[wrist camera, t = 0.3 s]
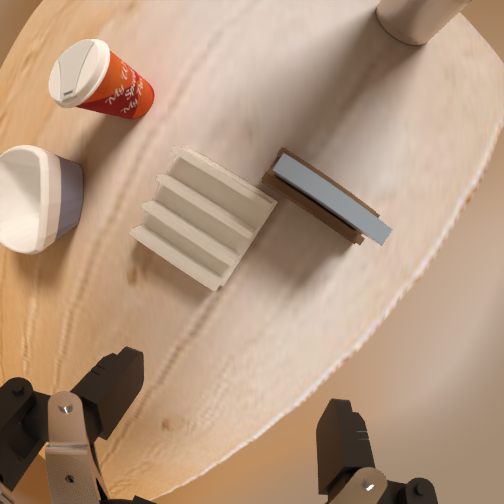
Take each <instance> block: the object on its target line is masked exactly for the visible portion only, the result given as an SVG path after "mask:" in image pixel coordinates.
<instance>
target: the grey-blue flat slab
mask: <svg viewBox="0 0 504 504" xmlns="http://www.w3.org/2000/svg"><path fill="white" fill-rule="evenodd" d="M273 172H274V173H275V175H276V176H278V177H279V178H281V179H282V180H284V181H286V182H287V183H289V184H290V185H292V186H293V187H295V188H296V189H298V190H299V191H301V192H303V193H304V194H306V195H307V196H309V197H310V198H311V199H313V200H314V201H316V202H317V203H319V204H320V205H322V206H323V207H325V208H326V209H328V210H329V211H330V212H332V213H333V214H335V215H336V216H338V217H339V218H340V219H342V220H343V221H345V222H346V223H347V224H349V225H350V226H352V227H353V228H354V229H356V230H357V231H359V232H361V233H362V234H364V235H366V236H367V237H369V238H370V239H372V240H374V241H375V242H377V243H378V244H380V245H381V246H382V245H383V243H384V242H385V240H386V239H387V237H388V235H389V234H390V232H391V231H392V229H391V228H390V227H388V226H387V225H386V224H385V223H383V222H382V221H381V220H379V219H378V218H377V217H376V216H374V215H373V214H372V213H370V212H369V211H368V210H366V209H365V208H364V207H362V206H361V205H360V204H358V203H357V202H356V201H354V200H353V199H352V198H350V197H349V196H348V195H346V194H345V193H343V192H342V191H341V190H339V189H338V188H336V187H335V186H333V185H332V184H331V183H329V182H328V181H326V180H325V179H323V178H322V177H320V176H319V175H317V174H316V173H314V172H313V171H311V170H310V169H308V168H307V167H305V166H304V165H302V164H301V163H299V162H298V161H296V160H294V159H293V158H291V157H290V156H288V155H286V154H285V153H283V155H282V156H281V158H280V159H279V161H278V162H277V164H276V165H275V167H274V168H273Z"/></svg>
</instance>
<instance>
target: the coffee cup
mask: <svg viewBox="0 0 504 504" xmlns="http://www.w3.org/2000/svg"><path fill="white" fill-rule="evenodd" d="M48 87H49V93H50V95H51V97H52V98H53V99H54V100H55V101H56V103H57V104H58V105H59V106H61V107H63V108H72V107H78V108H83V109H87V110H92V111H96V112H100V113H104V114H110V115H114V116H118V117H123V118H128V119H136V118H139V117H141V116H143V115H144V114H145V113H146V112H147V111H148V110H149V109H150V108H151V106H152V104H153V101H154V90H153V88H152V86H151V85H150V84H149V83H148V82H147V81H146V80H145V79H143V78H142V77H141V76H140V75H139V74H138V73H137V72H135V71H134V70H133V69H132V68H131V67H129V66H128V65H127V64H126V63H125V62H123V61H122V60H121V59H120V58H119V57H117V56H116V55H115V54H114V53H112V52H111V51H110V50H109V47H108V46H107V44H106V43H105V42H103V41H101V40H98V39H84V40H81V41H79V42H77V43H75V44H73V45H72V46H70V47H69V48H68V49H66V50H65V51H64V53H63V54H62V55H61V56H60V57H59V58H58V60H57V61H56V63H55V65H54V66H53V69H52V71H51V74H50V78H49V84H48Z"/></svg>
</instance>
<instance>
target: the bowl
mask: <svg viewBox="0 0 504 504" xmlns="http://www.w3.org/2000/svg"><path fill="white" fill-rule="evenodd" d="M82 203H83V171H82V168H81V166H80V165H78V164H76V163H74V162H72V161H69V160H67V159H64V158H62V157H60V156H57V155H55V154H53V153H51V152H48V151H46V150H43V149H41V148H38V147H35V146H31V145H20V146H16V147H13V148H11V149H9V150H7V151H5V152H4V153H3V154H2V155H1V156H0V243H2V244H3V245H4V246H6V247H7V248H9V249H11V250H13V251H15V252H18V253H22V254H32V255H34V254H37V253H39V252H41V251H43V250H44V249H45V248H47V247H48V246H49V245H51V244H52V243H53V242H54V241H56V240H57V239H58V238H60V237H61V236H63V235H64V234H65V233H67V232H68V231H70V230H71V229H73V228H74V227H76V226H77V225H78V222H79V219H80V214H81V209H82Z"/></svg>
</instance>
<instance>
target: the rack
mask: <svg viewBox="0 0 504 504" xmlns="http://www.w3.org/2000/svg"><path fill="white" fill-rule="evenodd" d="M171 152H172V153H174V154H176V155H177V156H176V158H175V160H174V161H173V163H172V165H171V167H170V169H169V170H168V172H167V174H166V175H164V174H158V176H157V178H156V179H155V180H156V181H158V182H159V183H161V185H160V187H159V189H158V191H157V193H156V195H155V197H154V199H153V201H148V202H144V203H143V205H142V207H141V208H142V209H144V210H145V211H147V213H146V215H145V217H144V219H143V221H142V223H141V225H140V226H138V227H135V228H132V229H131V231H130V233H129V235H131V236H132V237H134V238H135V239H136V240H138V241H139V242H141V243H142V244H143V245H145V246H146V247H148V248H149V249H151V250H152V251H154V252H155V253H156V254H158V255H159V256H161V257H162V258H164V259H165V260H167V261H168V262H170V263H171V264H173V265H174V266H176V267H177V268H179V269H180V270H182V271H183V272H185V273H186V274H188V275H189V276H191V277H192V278H194V279H195V280H197V281H198V282H200V283H201V284H203V285H204V286H206V287H207V288H209V289H211V290H212V291H214V292H216V290H217V289H218V287H219V286H220V285H221V286H222V287H223V286H224V285H225V283H226V282H227V280H228V279H229V277H230V276H231V274H232V272H233V271H234V269H235V268H236V266H237V265H238V263H239V261H240V260H241V258H242V257H243V255H244V254H245V252H246V251H247V249H248V247H249V246H250V244H251V243H252V241H253V240H254V238H255V237H256V235H257V234H258V232H259V230H260V229H261V227H262V226H263V224H264V223H265V221H266V220H267V218H268V216H269V215H270V213H271V212H272V210H273V209H274V207H275V206H276V204H277V203H278V201H277V200H275V199H273V198H272V197H270V196H269V195H267V194H266V193H264V192H262V191H261V190H259V189H258V188H256V187H254V186H253V185H251V184H250V183H248V182H246V181H245V180H243V179H241V178H240V177H238V176H237V175H235V174H233V173H232V172H230V171H228V170H227V169H225V168H223V167H222V166H220V165H218V164H217V163H215V162H213V161H211V160H210V159H208V158H206V157H205V156H203V155H201V154H199V153H198V152H196V151H194V150H192V149H191V148H189V147H187V146H185V145H183V146H182V148H180V147H177V146H174V147H173V149H172V150H171Z"/></svg>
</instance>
